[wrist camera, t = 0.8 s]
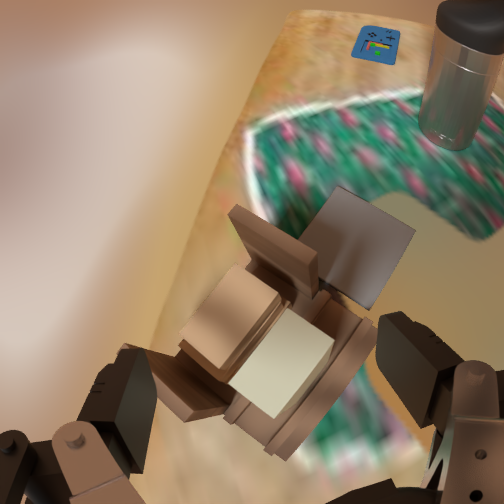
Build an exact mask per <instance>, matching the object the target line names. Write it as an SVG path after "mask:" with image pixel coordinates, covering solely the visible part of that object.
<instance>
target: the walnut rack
mask: <svg viewBox="0 0 504 504" xmlns="http://www.w3.org/2000/svg"><path fill="white" fill-rule="evenodd" d="M228 216H229V218H230V220H231V222H232V224H233V225H234V227H235V229H236V231H237V233H238V235H239V237H240V238H241V240H242V242H243V244H244V246H245V248H246V250H247V251H248V253H249V255H250V257H251V259H252V260H251V262H250V263H249V264H248V265H247V267H246V268H245V270H246V271H248V272H249V273H251V274H252V275H254V276H255V277H256V278H258V279H259V280H261V281H262V282H264V283H265V284H267V285H268V286H269V287H271V288H272V289H274V290H275V291H277V292H278V293H279V295H281V296H282V297H284V298H285V299H287V300H288V301H289V302H291V305H292V309H291V311H293V312H294V313H296V314H297V315H299V316H300V317H302V318H303V319H304V320H306V321H307V322H309V323H310V324H312V325H313V326H315V327H316V328H318V329H319V330H321V331H322V332H323V333H325V334H326V335H328V336H329V337H331V338H332V339H334V340H335V341H334V344H333V347H332V350H331V353H330V357H329V360H328V362H327V364H326V365H325V367H324V368H323V369H322V371H321V372H320V373H319V375H318V376H317V377H316V379H315V380H314V381H313V383H312V384H311V385H310V386H309V388H308V389H307V390H306V392H305V393H304V394H303V395H302V397H301V398H300V399H299V401H298V402H297V403H296V404H294V405H293V406H292V407H290V408H289V409H287V410H286V411H285V412H283V413H282V414H280V415H279V416H278V417H276V418H275V419H273V418H272V417H271V416H269V415H268V414H267V413H265V412H264V411H263V410H261V409H260V408H259V407H257V406H256V405H255V404H254V403H252V402H251V401H250V400H248V399H247V398H246V397H245V396H243V395H242V394H241V393H240V392H238V391H237V390H236V389H235V388H233V387H232V386H231V385H226V384H225V383H224V382H222V381H218V380H217V379H216V378H215V377H213V376H212V375H211V374H210V373H209V372H208V371H206V370H205V369H204V368H203V367H202V366H201V365H199V364H198V363H197V362H196V361H195V360H194V359H193V358H192V357H190V356H189V355H188V354H187V353H186V352H185V351H184V350H183V349H181V350H180V351H179V353H178V354H177V355H176V356H175V357H173V356H169V355H165V354H162V353H158V352H154V351H151V350H147V349H144V348H143V349H144V350H145V353H146V356H147V359H148V362H149V365H150V368H151V372H152V375H153V378H154V381H155V384H156V389H157V397H158V398H159V399H160V400H161V401H162V402H163V403H164V404H165V405H166V406H167V407H168V408H169V409H170V410H171V411H172V412H173V413H174V414H175V415H176V416H178V417H179V418H180V419H181V420H182V421H183V422H184V423H185V422H190V421H194V420H199V419H204V418H208V417H212V416H217V415H221V414H224V415H225V416H224V417H223V419H224V420H226V421H227V422H228V423H229V424H230V425H231V424H234V423H235V424H236V425H238V426H239V427H240V428H241V429H243V430H244V431H245V432H246V433H248V434H249V435H250V436H252V437H253V438H254V439H256V440H257V441H258V442H260V443H261V444H262V445H264V446H265V448H264V451H265V452H267V453H268V454H269V455H271V456H272V455H273V454H274V453H275V454H276V455H277V456H279V457H280V458H281V459H283V460H284V461H287V459H288V458H289V457H290V456H291V455H292V454H293V453H294V452H295V450H296V449H297V448H298V447H299V446H300V445H301V443H302V442H303V441H304V440H305V439H306V438H307V436H308V435H309V434H310V433H311V432H312V430H313V429H314V428H315V427H316V426H317V424H318V423H319V422H320V421H321V419H322V418H323V417H324V416H325V414H326V413H327V412H328V411H329V409H330V408H331V407H332V405H333V404H334V403H335V401H336V400H337V399H338V397H339V396H340V395H341V393H342V392H343V391H344V389H345V388H346V387H347V385H348V384H349V383H350V381H351V380H352V378H353V377H354V376H355V374H356V373H357V371H358V370H359V368H360V367H361V366H362V364H363V363H364V361H365V360H366V358H367V357H368V355H369V354H370V352H371V351H372V349H373V348H374V346H375V345H376V343H377V333H378V329H377V328H375V327H373V326H372V323H373V321H371V320H370V319H368V318H367V317H364V319H361V318H360V317H358V316H357V315H355V314H354V313H352V312H351V311H349V310H348V309H346V308H345V307H343V306H342V305H340V304H339V303H337V302H335V301H334V300H332V299H331V294H330V293H328V292H327V291H325V290H324V289H323V290H322V291H321V292H320V291H319V278H318V255H317V252H316V251H314V250H313V249H311V248H310V247H308V246H306V245H305V244H303V243H301V242H300V241H298V240H296V239H295V238H293V237H292V236H290V235H288V234H287V233H285V232H283V231H282V230H280V229H278V228H277V227H275V226H273V225H272V224H270V223H268V222H267V221H265V220H263V219H262V218H260V217H258V216H256V215H255V214H253V213H251V212H250V211H248V210H246V209H245V208H243V207H241V206H239V205H238V204H236V205H235V206H234V207H233V209H232V210H231V211H230V212H229V213H228ZM126 348H140V347H137V346H133V345H130V344H126V343H124V344H123V345H122V347H121V348H120V349H119V351H120V350H121V349H126ZM119 351H118V352H117V355H118V353H119Z"/></svg>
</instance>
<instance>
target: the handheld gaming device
mask: <svg viewBox="0 0 504 504" xmlns="http://www.w3.org/2000/svg"><path fill="white" fill-rule="evenodd" d="M399 37H400V31H397V30H392V29H387V28H382V27H377V26H364V27H362V28H361V31H360V33H359V36H358V38H357V41H356V43H355V46H354V48H353V51H352V53H351V56H352V57H355V58H360V59H365V60H370V61H375V62H380V63H384V64H389V65H394V64H395V60H396V54H397V49H398V43H399Z"/></svg>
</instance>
